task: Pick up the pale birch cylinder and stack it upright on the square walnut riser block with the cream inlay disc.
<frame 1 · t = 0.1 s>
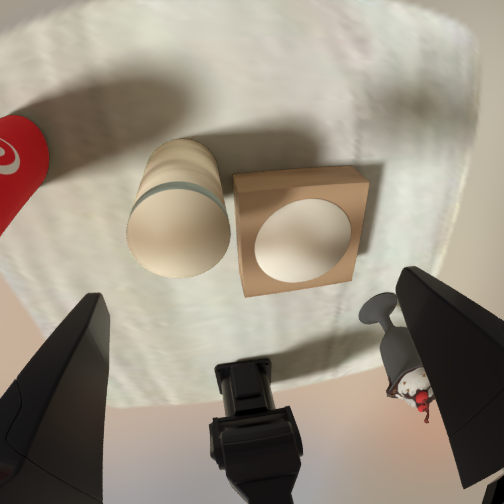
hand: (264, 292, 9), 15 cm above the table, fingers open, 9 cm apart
birch cylinder: (181, 173, 21), on the table
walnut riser: (293, 221, 25), on the table
sundae: (376, 307, 34), on the table
beverage can: (19, 152, 18), on the table
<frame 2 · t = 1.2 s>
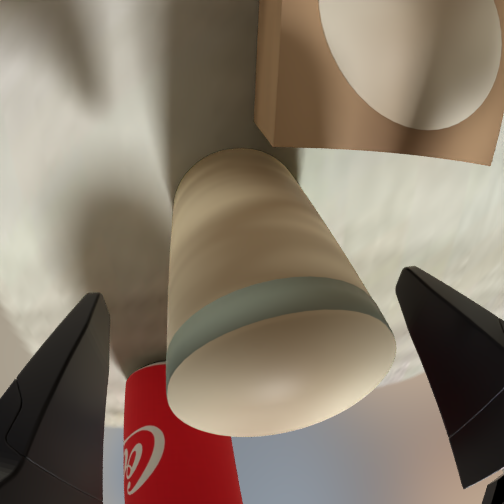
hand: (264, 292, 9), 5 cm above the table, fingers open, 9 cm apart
birch cylinder: (237, 208, 13), on the table
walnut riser: (379, 20, 9), on the table
beverage can: (174, 377, 19), on the table
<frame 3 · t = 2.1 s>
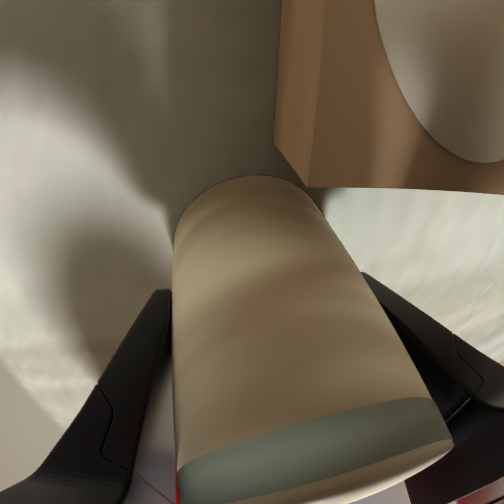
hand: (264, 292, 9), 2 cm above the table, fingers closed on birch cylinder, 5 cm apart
birch cylinder: (250, 245, 11), on the table, touching gripper
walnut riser: (423, 21, 7), on the table
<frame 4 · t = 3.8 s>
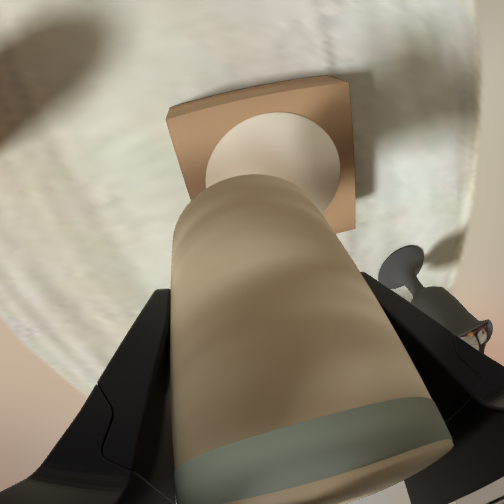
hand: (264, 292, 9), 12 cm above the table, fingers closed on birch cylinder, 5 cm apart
birch cylinder: (249, 245, 11), point 9 cm above the table, touching gripper
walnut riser: (263, 158, 19), on the table
sundae: (399, 266, 27), on the table
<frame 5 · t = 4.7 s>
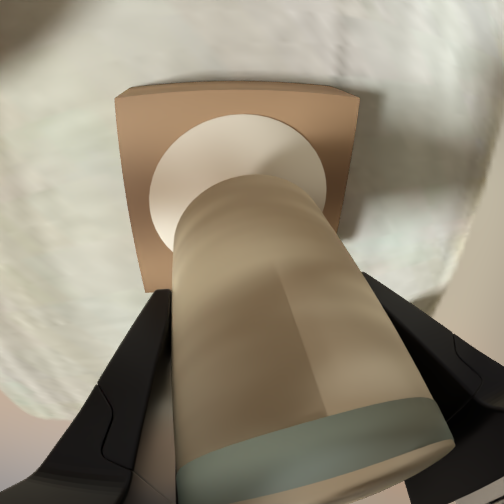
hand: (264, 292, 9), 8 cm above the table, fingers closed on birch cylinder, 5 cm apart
birch cylinder: (250, 245, 11), point 6 cm above the table, touching gripper
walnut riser: (231, 173, 15), on the table
when the fingers open (6 cm above the table, at t = 5.5 s): birch cylinder stays where it is, resting on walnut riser.
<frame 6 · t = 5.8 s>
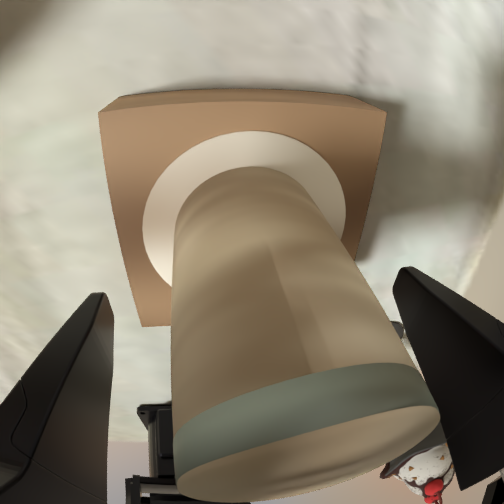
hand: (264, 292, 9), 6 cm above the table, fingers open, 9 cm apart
birch cylinder: (247, 234, 11), point 3 cm above the table, touching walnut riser
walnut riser: (236, 194, 14), on the table
sundae: (373, 341, 23), on the table
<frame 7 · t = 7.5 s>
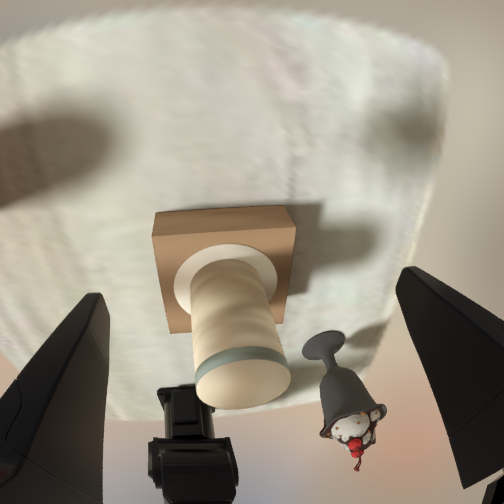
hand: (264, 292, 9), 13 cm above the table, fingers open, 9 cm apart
birch cylinder: (225, 288, 22), point 3 cm above the table, touching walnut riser
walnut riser: (221, 260, 25), on the table
sundae: (322, 344, 34), on the table
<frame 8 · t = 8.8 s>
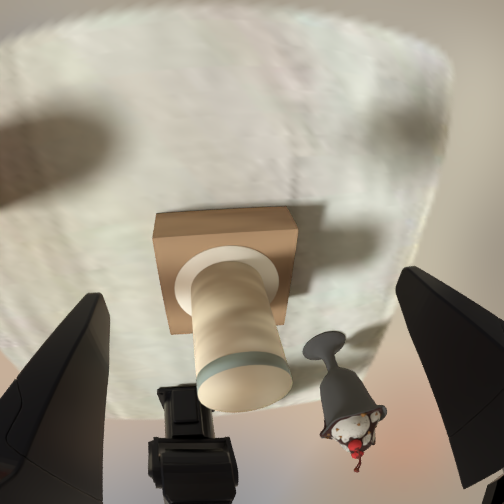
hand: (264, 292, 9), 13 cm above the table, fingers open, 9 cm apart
birch cylinder: (227, 289, 22), point 3 cm above the table, touching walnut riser
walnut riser: (222, 261, 24), on the table
sundae: (323, 344, 34), on the table
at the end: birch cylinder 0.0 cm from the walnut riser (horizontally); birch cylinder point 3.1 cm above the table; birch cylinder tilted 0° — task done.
